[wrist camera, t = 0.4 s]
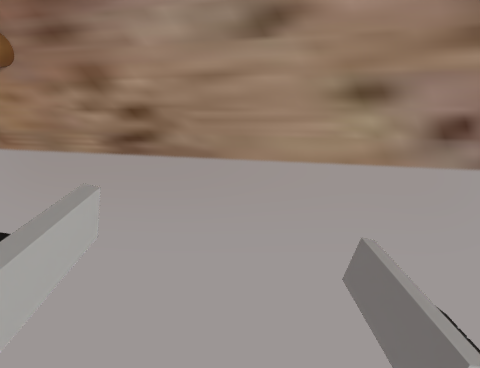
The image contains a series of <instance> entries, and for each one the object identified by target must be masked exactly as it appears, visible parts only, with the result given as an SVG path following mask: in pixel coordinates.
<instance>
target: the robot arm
mask: <svg viewBox="0 0 480 368" xmlns="http://www.w3.org/2000/svg"><path fill="white" fill-rule="evenodd" d="M100 189H101V188H100V187H98V186H93V185H88V184H82V185H81V186H79V187H78V188H76V189H75V190H73V191H72V192H71V193H69V194H68V195H66V196H65V197H63V198H62V199H61V200H59V201H58V202H56V203H55V204H54V205H52V206H51V207H49V208H48V209H46V210H45V211H44V212H42V213H41V214H39V215H38V216H37V217H35V218H34V219H32V220H31V221H29V222H28V223H26V224H25V225H23V226H22V227H21V228H19V229H18V230H16V231H15V232H14V233H12V234H7V233H0V353H1V352H2V350H3V349H4V348H5V347H6V346H7V344H8V343H9V342H10V341H11V340H12V339H13V337H14V336H15V335H16V334H17V332H18V331H19V330H20V329H21V328H22V327H23V325H24V324H25V323H26V322H27V321H28V320H29V318H30V317H31V316H32V315H33V313H34V312H35V311H36V310H37V309H38V308H39V306H40V305H41V304H42V303H43V302H44V300H45V299H46V298H47V297H48V296H49V295H50V293H51V292H52V291H53V290H54V289H55V287H56V286H57V285H58V284H59V283H60V281H61V280H62V279H63V278H64V277H65V276H66V274H67V273H68V272H69V271H70V270H71V268H72V267H73V266H74V265H75V263H77V261H78V260H79V259H80V258H81V256H82V255H83V254H84V253H85V252H86V251H87V249H88V248H89V247H90V246H91V245H92V244H93V242H94V241H95V240H96V239H97V237H98V223H99V206H100ZM342 280H343V282H344V283H345V285H346V287H347V288H348V290H349V292H350V294H351V295H352V297H353V299H354V301H355V302H356V304H357V306H358V308H359V309H360V311H361V313H362V315H363V316H364V318H365V320H366V322H367V323H368V325H369V327H370V329H371V330H372V332H373V334H374V335H375V337H376V339H377V341H378V343H379V344H380V346H381V348H382V349H383V351H384V353H385V354H386V356H387V358H388V360H389V362H390V363H391V365H392V367H393V368H480V350H479V349H478V348H477V347H476V346H475V345H474V344H473V342H472V341H471V340H470V339H468V338H467V336H466V335H465V334H464V333H463V332H462V331H461V330H460V329H458V328H457V325H456V324H455V323H454V322H453V321H452V320H451V319H450V318H449V317H448V316H447V315H446V314H445V313H444V312H443V311H441V310H440V309H439V308H438V307H436V306H435V305H434V304H433V303H432V302H431V301H430V299H429V298H428V297H427V296H426V295H425V294H424V293H423V292H422V291H421V290H420V289H419V288H418V286H417V285H416V284H415V283H414V282H413V281H412V280H411V279H410V278H409V277H408V276H407V275H406V274H405V273H404V271H403V270H402V269H401V268H400V267H399V266H398V265H397V264H396V263H395V262H394V260H392V258H391V257H390V256H389V255H388V254H387V253H386V252H385V251H384V250H383V249H382V247H381V246H380V245H379V244H378V243H377V242H376V241H375V240H371V239H365V238H361V240H360V242H359V244H358V246H357V248H356V251H355V253H354V255H353V257H352V260H351V261H350V264H349V266H348V268H347V270H346V272H345V274H344V277H343V279H342Z"/></svg>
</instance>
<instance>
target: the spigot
mask: <svg viewBox="0 0 480 368" xmlns="http://www.w3.org/2000/svg"><path fill="white" fill-rule="evenodd" d="M13 60H14V52H13V49H12V46H11V44H10V43H9V41H8V40H7V39H6V38H5V37H4V36H3V35H2V34H0V67H4V66H9V65H10V64H11V63H12V62H13Z"/></svg>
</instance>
